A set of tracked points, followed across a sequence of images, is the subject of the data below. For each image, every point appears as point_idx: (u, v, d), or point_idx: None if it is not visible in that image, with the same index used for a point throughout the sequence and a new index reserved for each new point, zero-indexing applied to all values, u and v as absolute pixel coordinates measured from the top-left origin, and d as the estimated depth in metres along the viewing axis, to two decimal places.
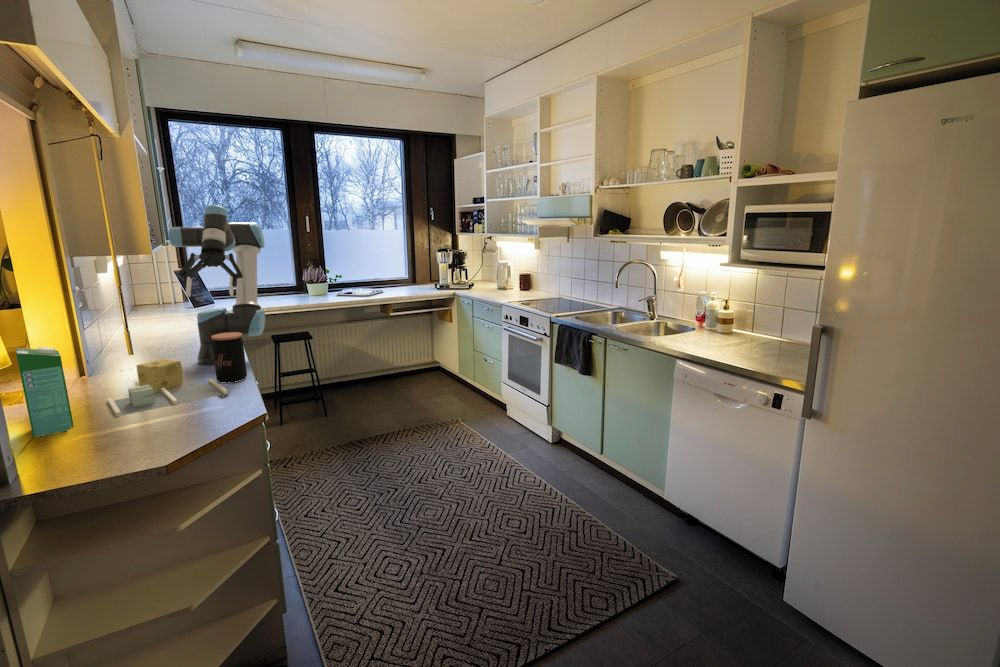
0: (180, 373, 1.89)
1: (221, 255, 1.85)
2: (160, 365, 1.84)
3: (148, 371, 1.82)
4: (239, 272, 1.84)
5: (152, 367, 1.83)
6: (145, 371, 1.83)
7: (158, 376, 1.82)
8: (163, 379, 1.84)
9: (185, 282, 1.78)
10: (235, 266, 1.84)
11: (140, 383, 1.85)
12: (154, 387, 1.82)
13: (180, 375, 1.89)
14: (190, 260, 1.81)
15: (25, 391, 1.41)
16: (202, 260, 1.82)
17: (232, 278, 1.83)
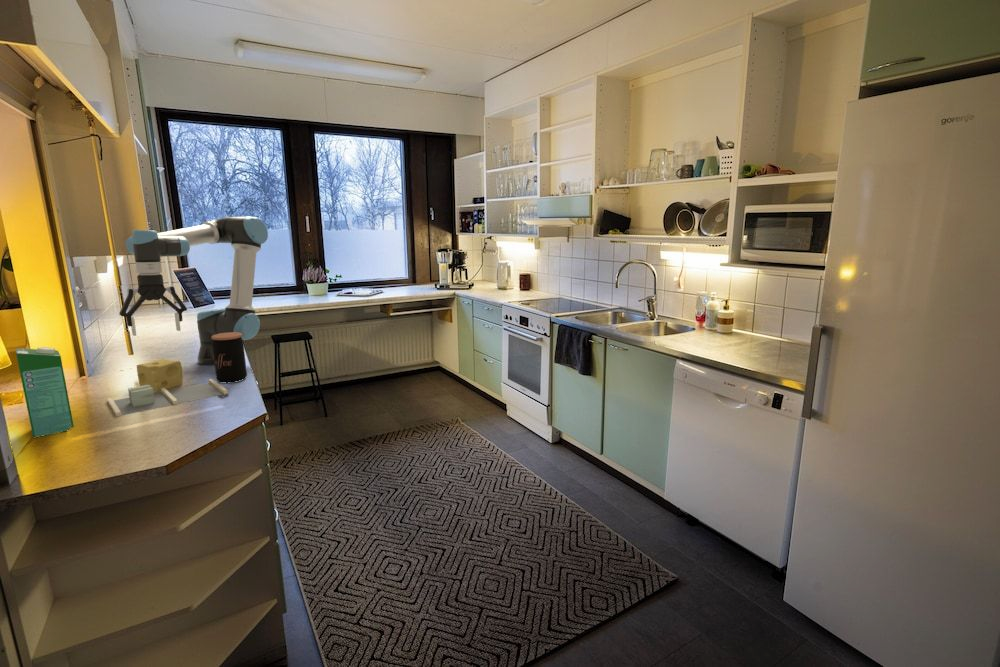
0: (180, 373, 1.89)
1: (162, 289, 1.83)
2: (160, 365, 1.84)
3: (148, 371, 1.82)
4: (184, 308, 1.88)
5: (152, 367, 1.83)
6: (145, 371, 1.83)
7: (158, 376, 1.82)
8: (163, 379, 1.84)
9: (129, 323, 1.78)
10: (179, 301, 1.87)
11: (140, 383, 1.85)
12: (154, 387, 1.82)
13: (180, 375, 1.89)
14: (130, 298, 1.76)
15: (25, 391, 1.41)
16: (144, 298, 1.79)
17: (178, 314, 1.87)
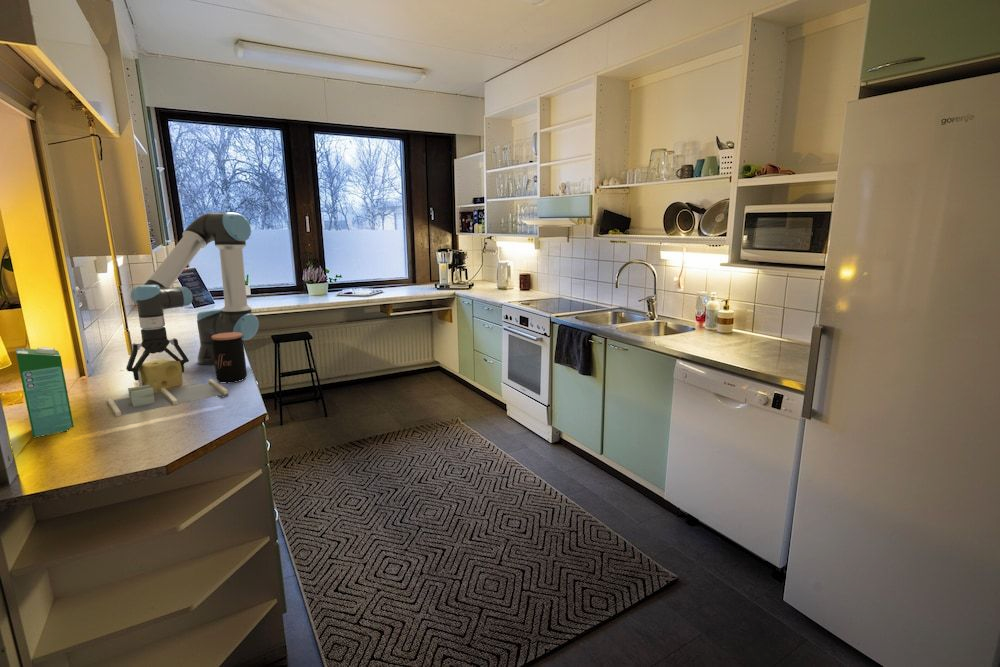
0: (179, 373, 1.89)
1: (166, 342, 1.87)
2: (160, 365, 1.84)
3: (148, 371, 1.82)
4: (186, 359, 1.92)
5: (152, 367, 1.83)
6: (145, 371, 1.83)
7: (158, 376, 1.82)
8: (162, 379, 1.84)
9: (136, 377, 1.82)
10: (181, 353, 1.91)
11: None
12: (154, 387, 1.82)
13: (180, 375, 1.89)
14: (135, 353, 1.80)
15: (25, 391, 1.41)
16: (148, 352, 1.83)
17: None
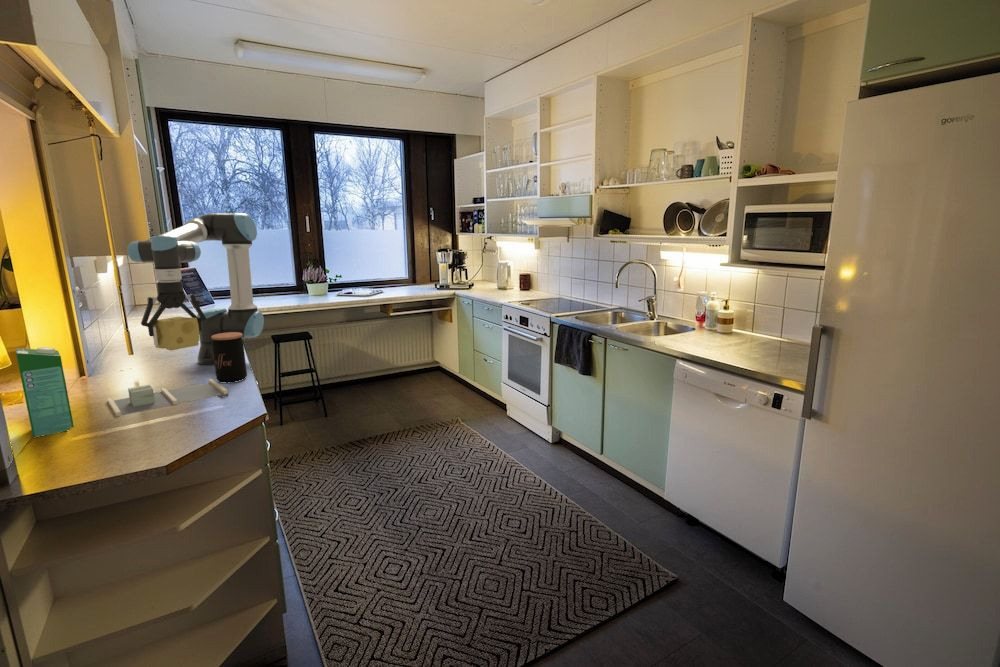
0: (196, 331, 1.79)
1: (182, 297, 1.77)
2: (175, 320, 1.74)
3: (163, 326, 1.72)
4: (203, 317, 1.82)
5: (167, 322, 1.73)
6: (160, 326, 1.73)
7: (173, 331, 1.72)
8: (178, 335, 1.74)
9: (151, 332, 1.73)
10: (198, 310, 1.81)
11: None
12: (169, 343, 1.72)
13: (196, 333, 1.79)
14: (150, 307, 1.71)
15: (25, 391, 1.41)
16: (164, 306, 1.73)
17: None
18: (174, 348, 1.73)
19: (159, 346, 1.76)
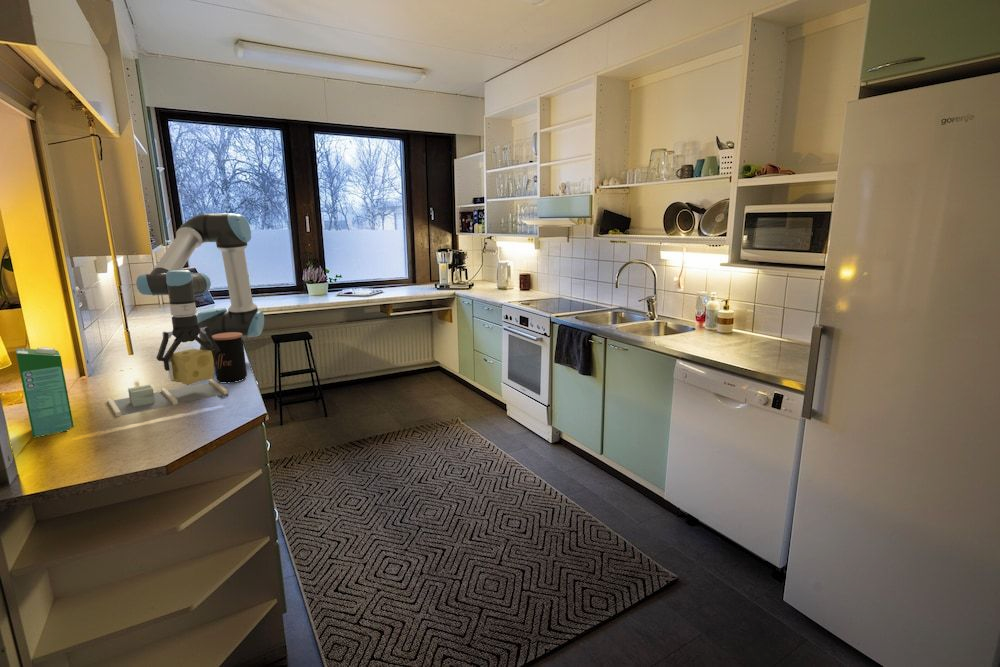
0: (211, 363, 1.80)
1: (197, 330, 1.78)
2: (191, 354, 1.75)
3: (179, 360, 1.73)
4: (218, 349, 1.83)
5: (183, 356, 1.74)
6: (176, 361, 1.74)
7: (189, 365, 1.73)
8: (194, 369, 1.75)
9: (167, 367, 1.73)
10: (213, 342, 1.82)
11: None
12: (185, 377, 1.73)
13: (211, 365, 1.80)
14: (166, 342, 1.71)
15: (25, 391, 1.41)
16: (179, 340, 1.74)
17: None
18: (190, 382, 1.74)
19: (174, 380, 1.76)
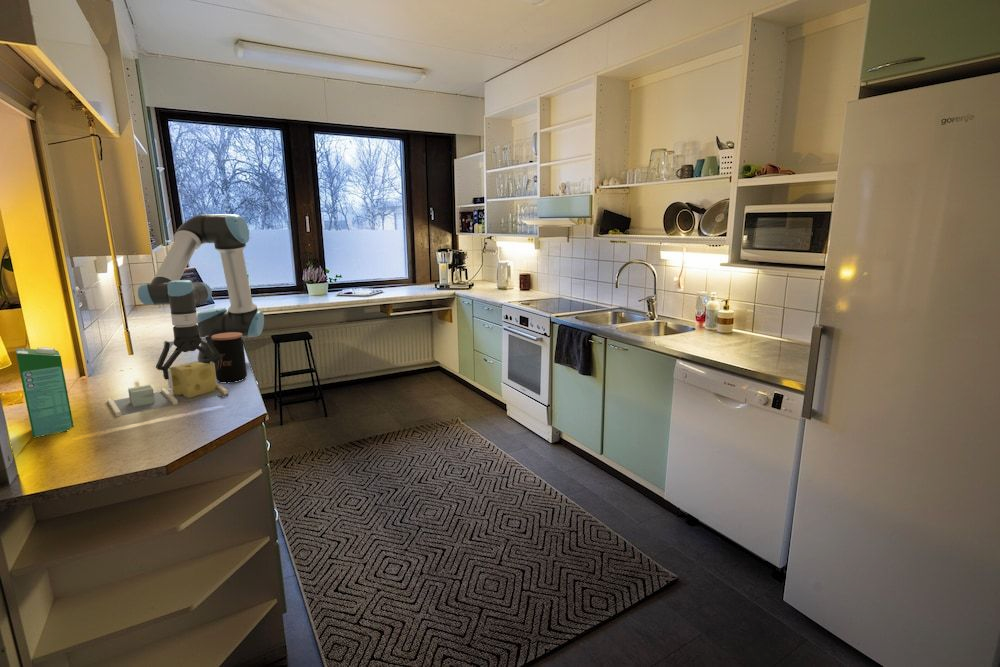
0: (213, 377, 1.81)
1: (198, 340, 1.78)
2: (193, 368, 1.76)
3: (181, 374, 1.74)
4: (220, 357, 1.84)
5: (185, 370, 1.75)
6: (178, 374, 1.75)
7: (191, 379, 1.74)
8: (196, 383, 1.76)
9: (166, 376, 1.73)
10: (215, 351, 1.82)
11: (173, 386, 1.78)
12: (187, 391, 1.74)
13: (213, 378, 1.81)
14: (166, 351, 1.72)
15: (25, 391, 1.41)
16: (180, 350, 1.74)
17: (214, 364, 1.83)
18: (192, 395, 1.75)
19: (177, 393, 1.77)
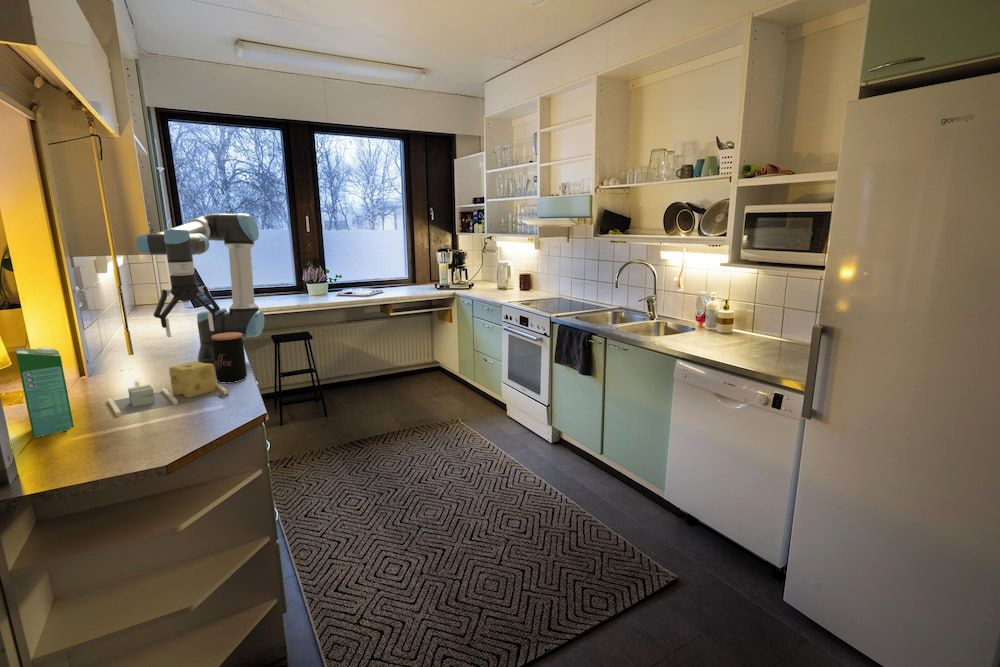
0: (213, 377, 1.81)
1: (195, 289, 1.79)
2: (193, 368, 1.76)
3: (181, 374, 1.74)
4: (217, 307, 1.85)
5: (185, 370, 1.75)
6: (178, 374, 1.75)
7: (191, 379, 1.74)
8: (196, 383, 1.76)
9: (164, 324, 1.75)
10: (212, 301, 1.84)
11: (173, 386, 1.78)
12: (187, 391, 1.74)
13: (213, 378, 1.81)
14: (164, 299, 1.73)
15: (25, 391, 1.41)
16: (178, 299, 1.75)
17: (211, 314, 1.84)
18: (192, 395, 1.75)
19: (177, 393, 1.77)
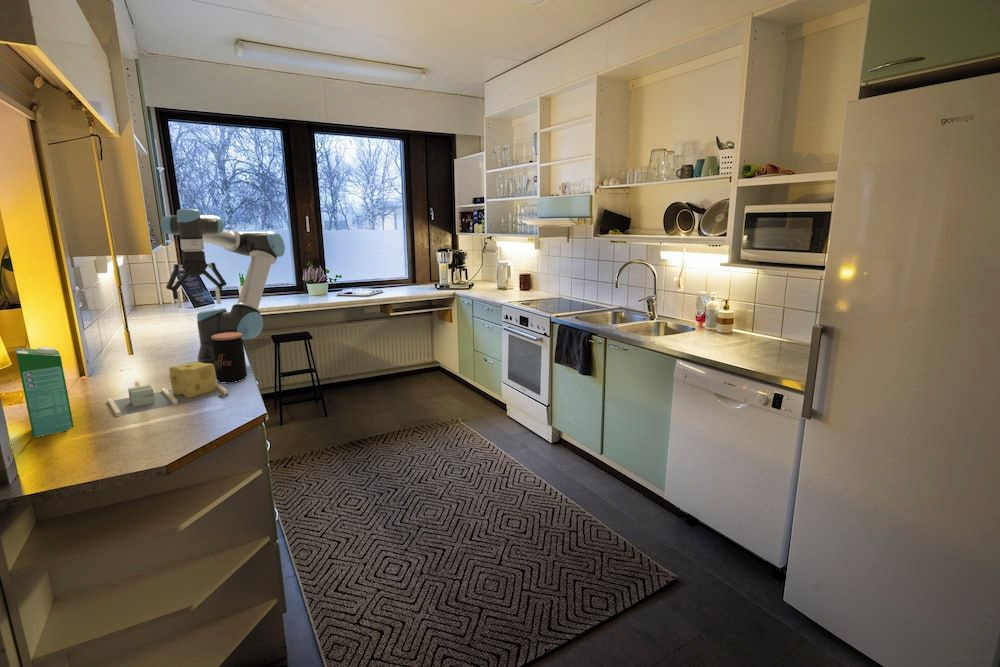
0: (213, 377, 1.81)
1: (204, 265, 1.96)
2: (193, 368, 1.76)
3: (181, 374, 1.74)
4: (224, 282, 2.02)
5: (185, 370, 1.75)
6: (178, 374, 1.75)
7: (191, 379, 1.74)
8: (196, 383, 1.76)
9: (175, 296, 1.91)
10: (219, 276, 2.00)
11: (173, 386, 1.78)
12: (187, 391, 1.74)
13: (213, 378, 1.81)
14: (176, 272, 1.90)
15: (25, 391, 1.41)
16: (188, 273, 1.92)
17: (219, 289, 2.01)
18: (192, 395, 1.75)
19: (177, 393, 1.77)
